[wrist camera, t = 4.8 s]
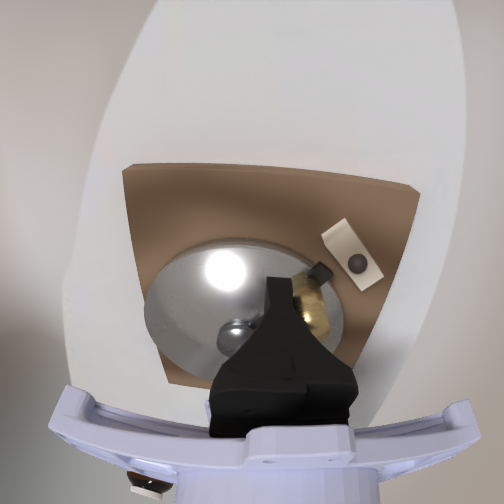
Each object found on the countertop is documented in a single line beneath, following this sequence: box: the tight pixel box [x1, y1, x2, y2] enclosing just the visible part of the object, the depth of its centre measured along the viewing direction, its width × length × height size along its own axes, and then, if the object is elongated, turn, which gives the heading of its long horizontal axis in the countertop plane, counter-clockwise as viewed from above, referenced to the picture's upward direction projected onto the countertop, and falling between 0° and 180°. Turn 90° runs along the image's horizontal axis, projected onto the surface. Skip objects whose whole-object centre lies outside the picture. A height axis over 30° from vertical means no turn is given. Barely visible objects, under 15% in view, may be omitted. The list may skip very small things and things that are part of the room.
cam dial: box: [144, 237, 344, 382], centre depth 16 cm, size 14×13×5 cm
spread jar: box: [127, 470, 173, 500], centre depth 39 cm, size 12×11×12 cm
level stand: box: [122, 163, 420, 389], centre depth 18 cm, size 20×16×3 cm
